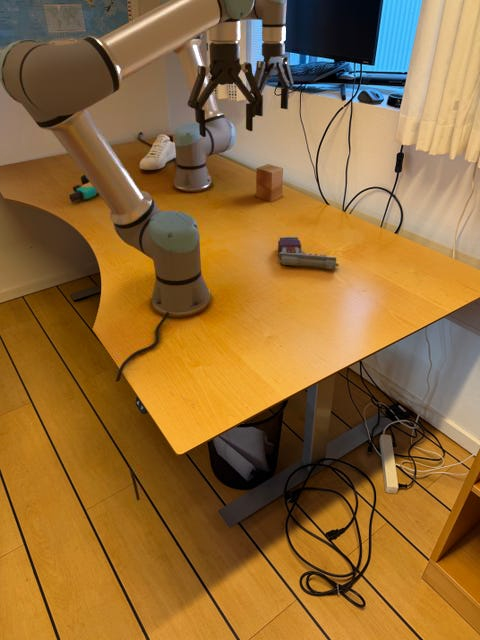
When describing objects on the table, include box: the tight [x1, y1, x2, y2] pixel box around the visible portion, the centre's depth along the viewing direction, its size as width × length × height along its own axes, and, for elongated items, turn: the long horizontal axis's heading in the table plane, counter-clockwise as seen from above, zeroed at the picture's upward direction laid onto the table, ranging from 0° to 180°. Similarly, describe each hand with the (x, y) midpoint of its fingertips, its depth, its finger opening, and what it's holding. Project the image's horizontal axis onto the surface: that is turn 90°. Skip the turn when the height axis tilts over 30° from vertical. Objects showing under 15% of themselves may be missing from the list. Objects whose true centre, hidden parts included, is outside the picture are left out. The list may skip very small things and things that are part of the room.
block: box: [255, 163, 284, 202], centre depth 181 cm, size 8×7×11 cm
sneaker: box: [139, 133, 176, 171], centre depth 214 cm, size 10×29×12 cm, turn 163°
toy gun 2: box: [277, 236, 339, 270], centre depth 142 cm, size 4×19×15 cm
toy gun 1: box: [69, 174, 99, 203], centre depth 188 cm, size 4×26×15 cm
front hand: (226, 132), depth 128 cm, fingers open, 13 cm apart
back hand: (271, 112), depth 166 cm, fingers open, 13 cm apart
